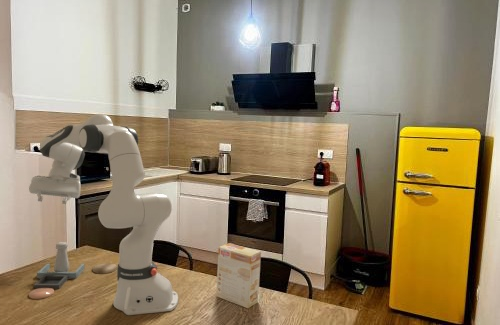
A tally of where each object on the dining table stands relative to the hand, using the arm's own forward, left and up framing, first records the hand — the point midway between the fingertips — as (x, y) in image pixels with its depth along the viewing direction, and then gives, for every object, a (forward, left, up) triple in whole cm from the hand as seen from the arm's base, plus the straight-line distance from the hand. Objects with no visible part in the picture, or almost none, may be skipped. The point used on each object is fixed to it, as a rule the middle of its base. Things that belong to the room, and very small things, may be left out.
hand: (52, 201), depth 158 cm
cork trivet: (-24, +4, -28) cm, 37 cm away
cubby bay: (-8, +9, -28) cm, 30 cm away
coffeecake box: (-79, +32, -28) cm, 89 cm away
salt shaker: (-8, +9, -28) cm, 31 cm away
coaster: (-8, +28, -28) cm, 40 cm away
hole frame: (-8, +19, -28) cm, 35 cm away
